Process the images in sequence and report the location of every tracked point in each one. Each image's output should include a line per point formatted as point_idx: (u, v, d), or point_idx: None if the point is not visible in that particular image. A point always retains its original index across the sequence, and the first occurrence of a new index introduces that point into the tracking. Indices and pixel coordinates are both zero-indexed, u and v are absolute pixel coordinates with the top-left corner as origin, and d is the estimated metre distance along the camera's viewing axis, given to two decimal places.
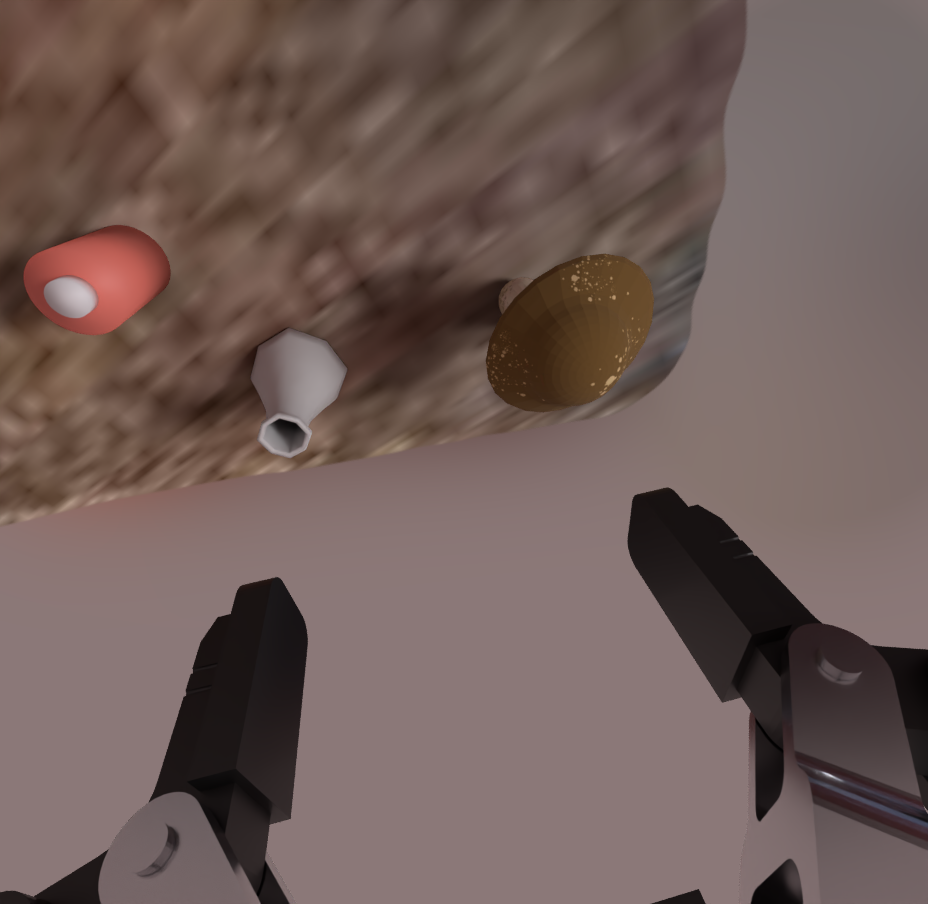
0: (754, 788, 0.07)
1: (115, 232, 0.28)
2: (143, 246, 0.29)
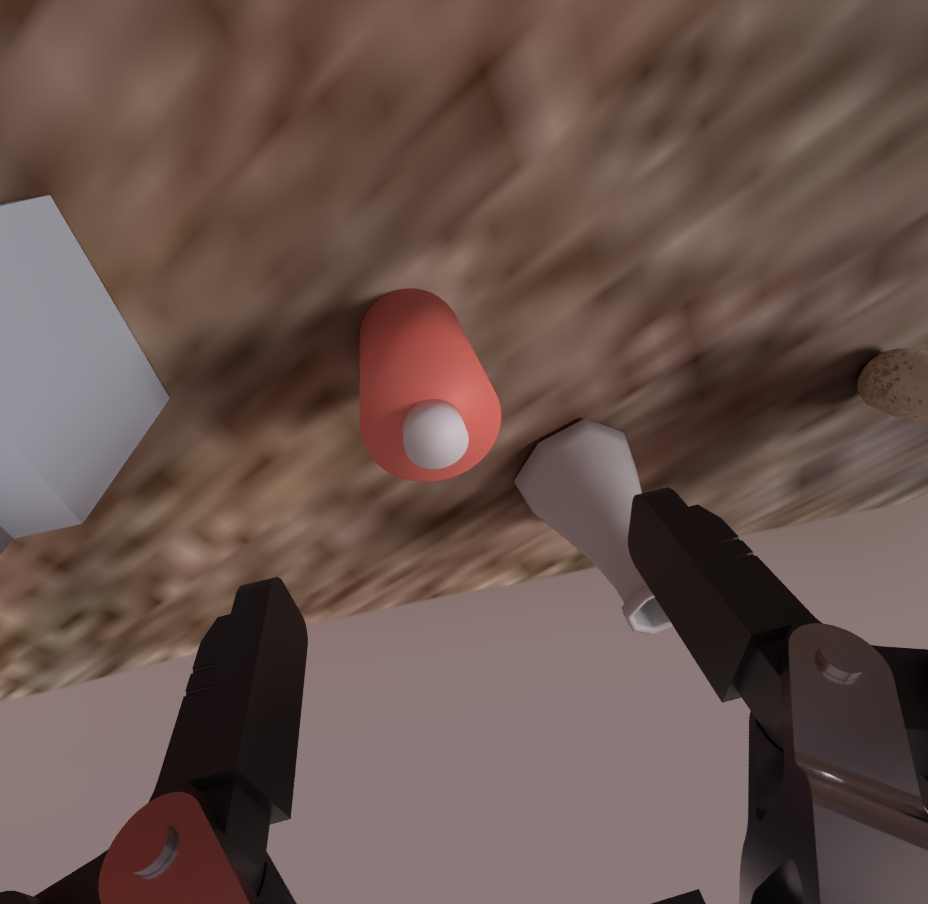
0: (754, 788, 0.07)
1: (430, 305, 0.18)
2: (458, 324, 0.19)
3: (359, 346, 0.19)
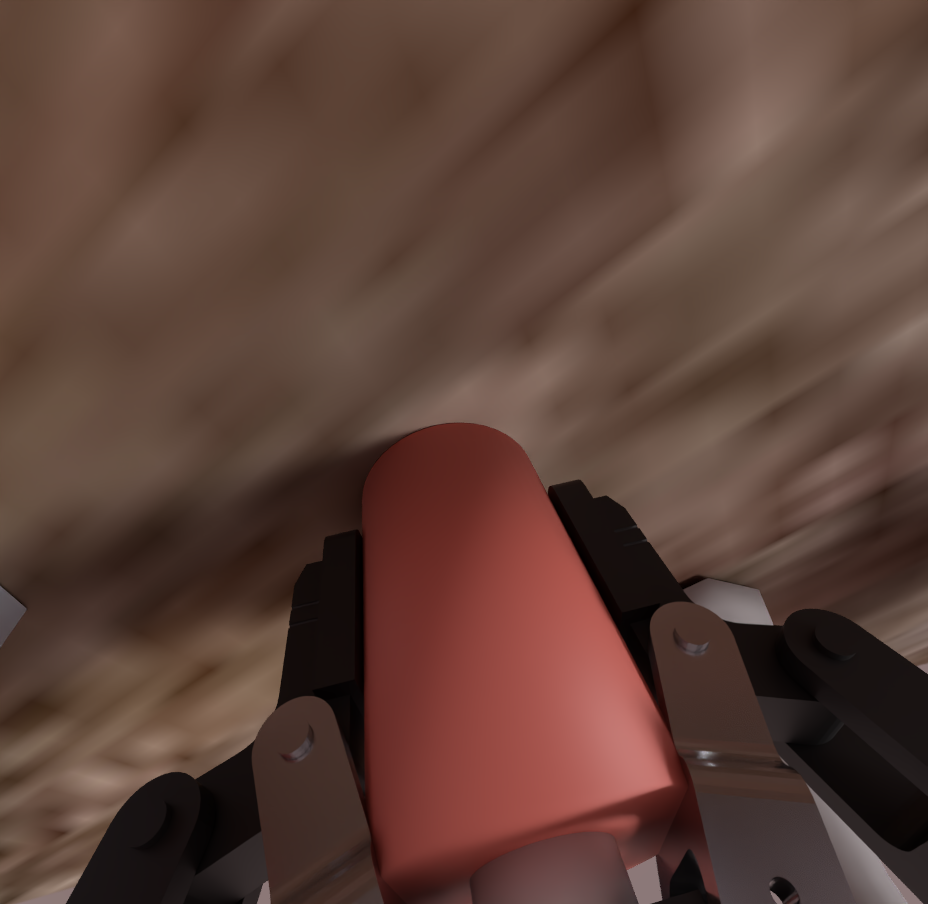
0: None
1: (500, 478, 0.09)
2: (548, 498, 0.10)
3: (362, 531, 0.11)
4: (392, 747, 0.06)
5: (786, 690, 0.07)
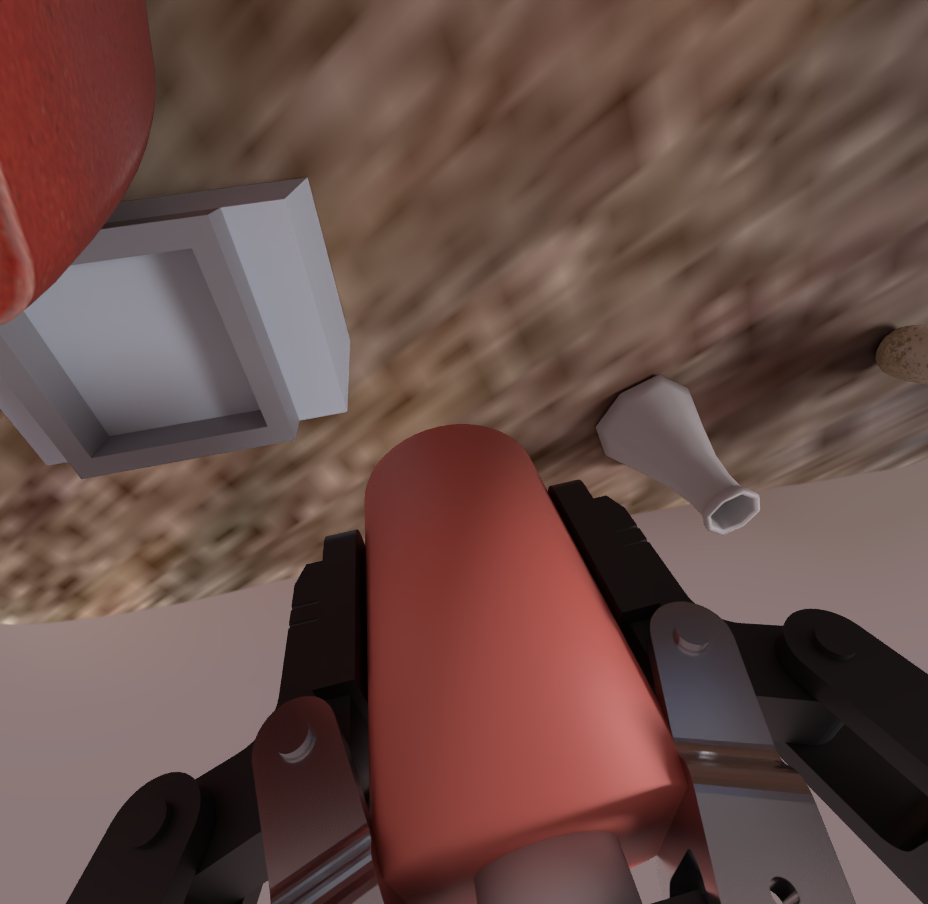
0: None
1: (502, 480, 0.09)
2: (550, 499, 0.10)
3: (365, 531, 0.11)
4: (397, 747, 0.06)
5: (786, 690, 0.07)
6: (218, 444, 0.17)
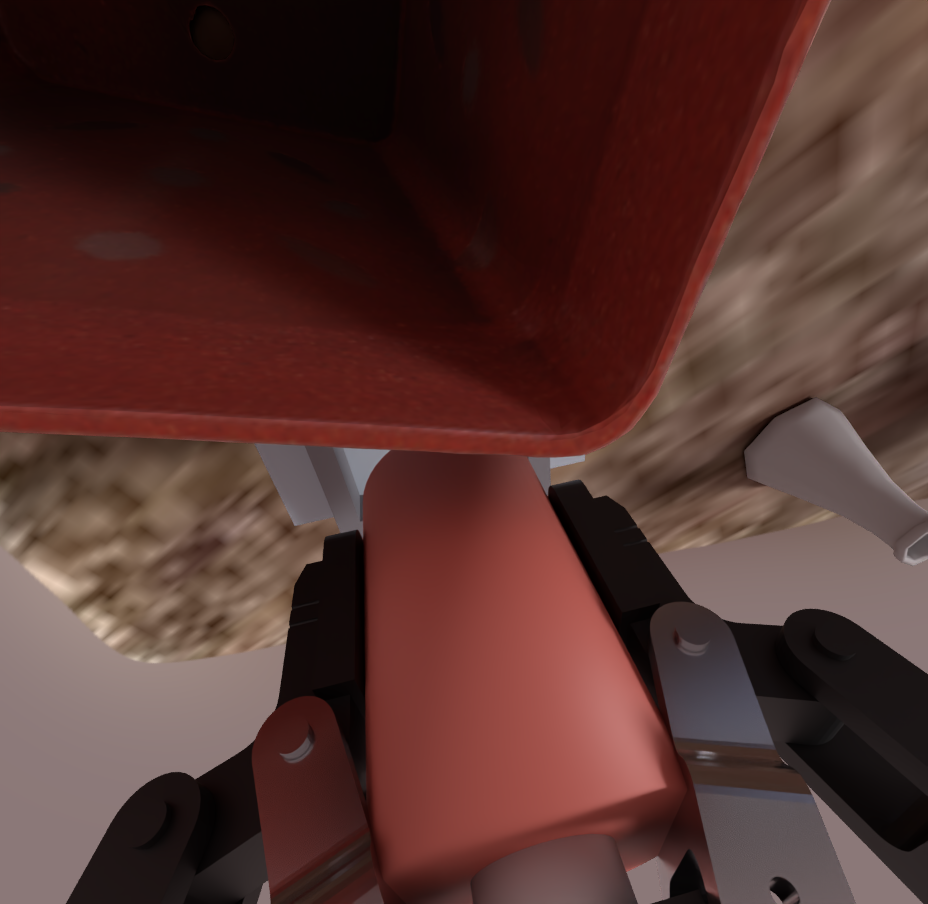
0: None
1: (500, 481, 0.09)
2: (548, 500, 0.10)
3: (363, 533, 0.11)
4: (393, 750, 0.06)
5: (786, 690, 0.07)
6: None
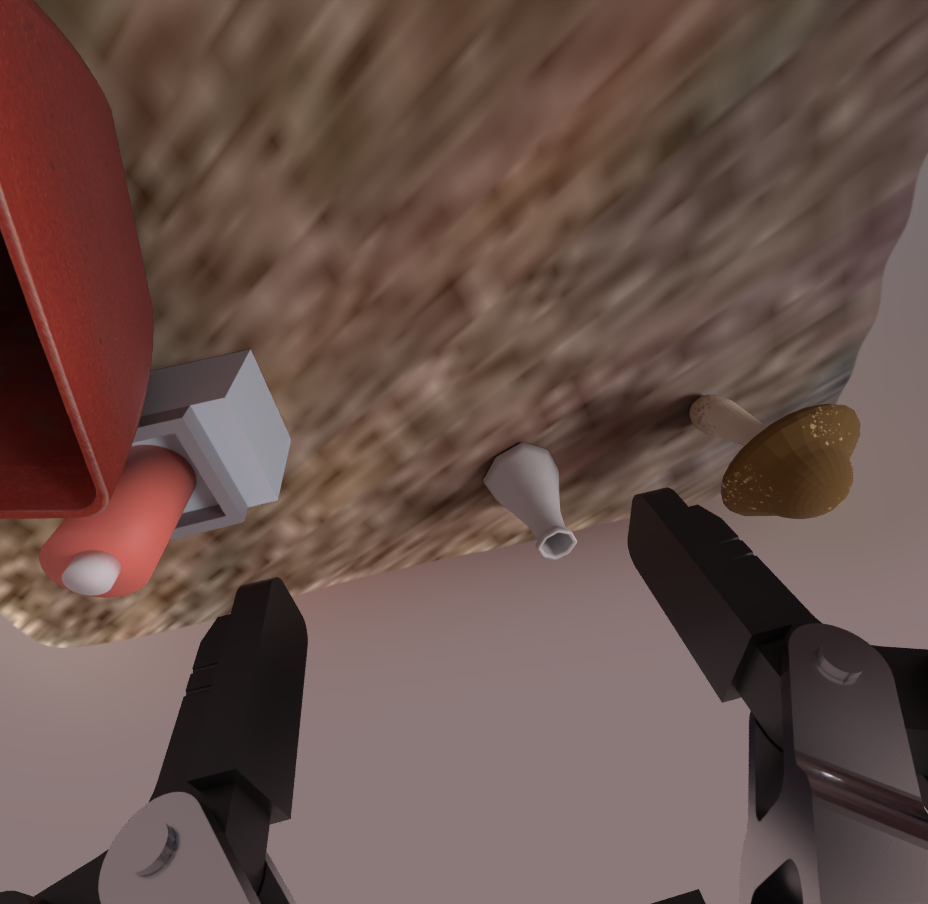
0: (754, 788, 0.07)
1: (137, 464, 0.25)
2: (167, 472, 0.26)
3: None
4: None
5: None
6: (197, 528, 0.29)
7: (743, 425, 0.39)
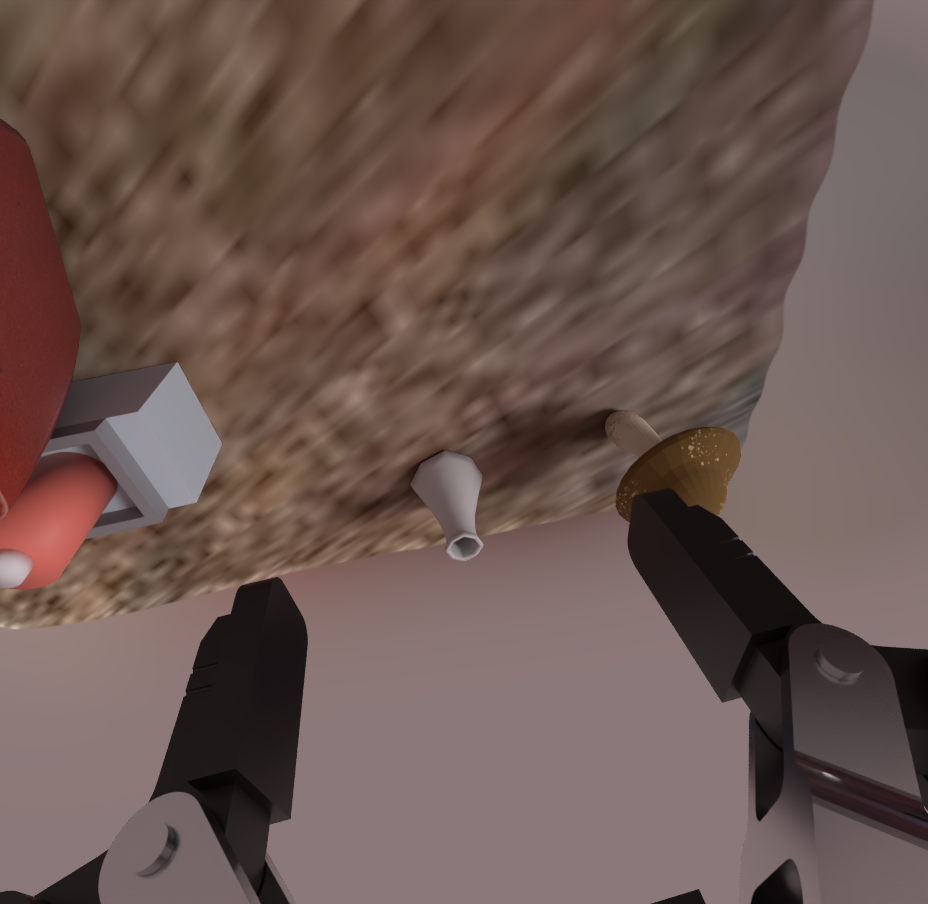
0: (754, 788, 0.07)
1: (55, 471, 0.28)
2: (85, 477, 0.29)
3: None
4: None
5: None
6: (118, 526, 0.32)
7: (644, 441, 0.42)
